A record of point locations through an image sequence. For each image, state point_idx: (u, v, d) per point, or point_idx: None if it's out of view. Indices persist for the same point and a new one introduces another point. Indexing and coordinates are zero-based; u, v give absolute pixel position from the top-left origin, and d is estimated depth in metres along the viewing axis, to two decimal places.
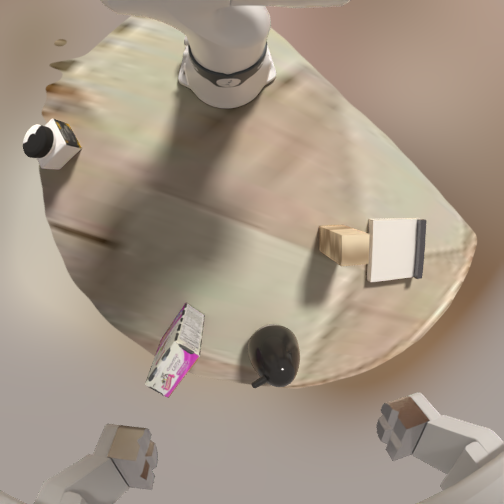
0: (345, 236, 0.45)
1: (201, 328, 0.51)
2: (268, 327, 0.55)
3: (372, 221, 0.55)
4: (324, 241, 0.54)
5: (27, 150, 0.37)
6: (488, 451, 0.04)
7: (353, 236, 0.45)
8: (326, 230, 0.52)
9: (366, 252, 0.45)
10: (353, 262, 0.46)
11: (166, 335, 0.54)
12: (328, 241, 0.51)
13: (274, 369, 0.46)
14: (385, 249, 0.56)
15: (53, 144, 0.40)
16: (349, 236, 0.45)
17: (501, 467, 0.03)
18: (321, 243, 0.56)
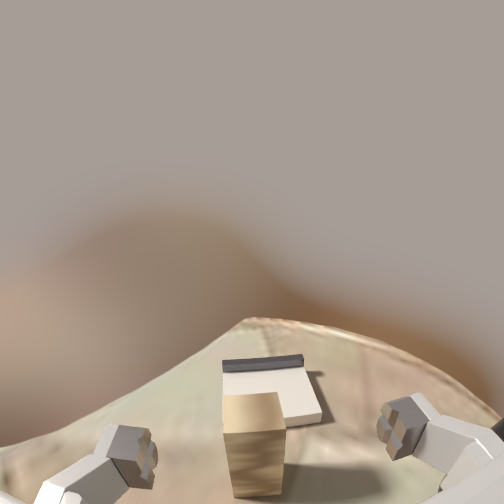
0: (225, 428, 0.20)
1: None
2: None
3: None
4: (256, 483, 0.22)
5: None
6: (488, 451, 0.04)
7: (226, 416, 0.22)
8: (234, 479, 0.21)
9: (257, 396, 0.24)
10: (276, 412, 0.22)
11: None
12: (253, 473, 0.21)
13: None
14: None
15: None
16: (226, 422, 0.21)
17: (501, 467, 0.03)
18: (265, 491, 0.22)
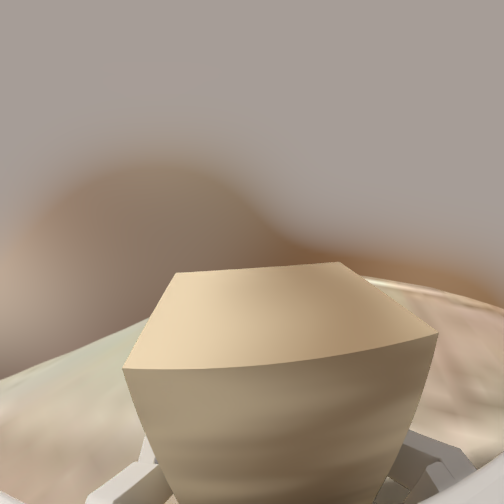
0: (144, 347, 0.04)
1: None
2: None
3: None
4: None
5: None
6: (452, 473, 0.04)
7: (164, 312, 0.06)
8: None
9: (281, 270, 0.08)
10: (365, 294, 0.06)
11: None
12: None
13: None
14: None
15: None
16: (155, 328, 0.05)
17: (501, 467, 0.03)
18: None
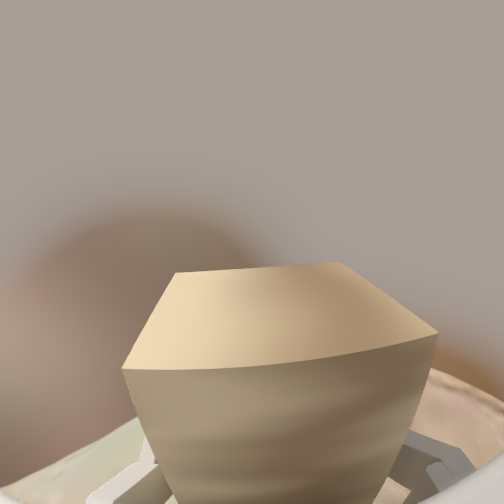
0: (143, 347, 0.04)
1: None
2: None
3: None
4: None
5: None
6: (452, 473, 0.04)
7: (164, 313, 0.06)
8: None
9: (281, 270, 0.08)
10: (365, 294, 0.06)
11: None
12: None
13: None
14: None
15: None
16: (154, 328, 0.05)
17: (501, 467, 0.03)
18: None
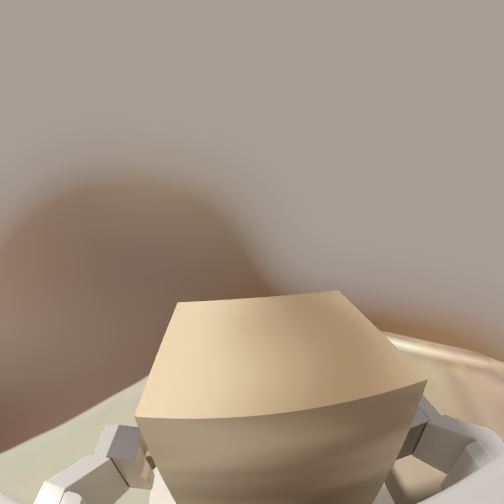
0: (152, 394, 0.04)
1: None
2: None
3: None
4: None
5: None
6: (488, 451, 0.04)
7: (169, 353, 0.06)
8: None
9: (281, 301, 0.08)
10: (361, 332, 0.06)
11: None
12: None
13: None
14: None
15: None
16: (161, 371, 0.05)
17: (501, 467, 0.03)
18: None
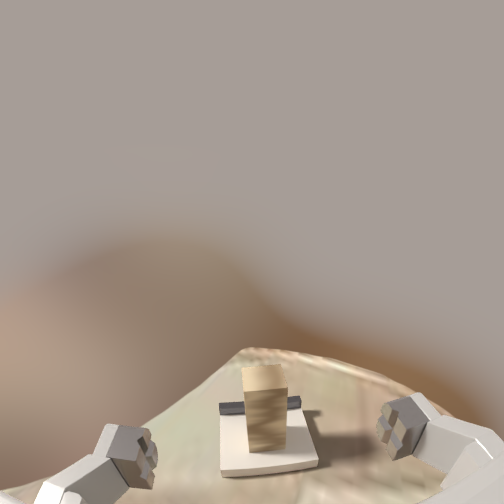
0: (245, 388, 0.31)
1: None
2: None
3: (223, 471, 0.30)
4: (266, 437, 0.32)
5: None
6: (488, 451, 0.04)
7: (245, 381, 0.32)
8: (250, 433, 0.32)
9: (266, 367, 0.35)
10: (280, 377, 0.33)
11: None
12: (264, 427, 0.32)
13: None
14: None
15: None
16: (245, 384, 0.32)
17: (501, 467, 0.03)
18: (273, 445, 0.33)
